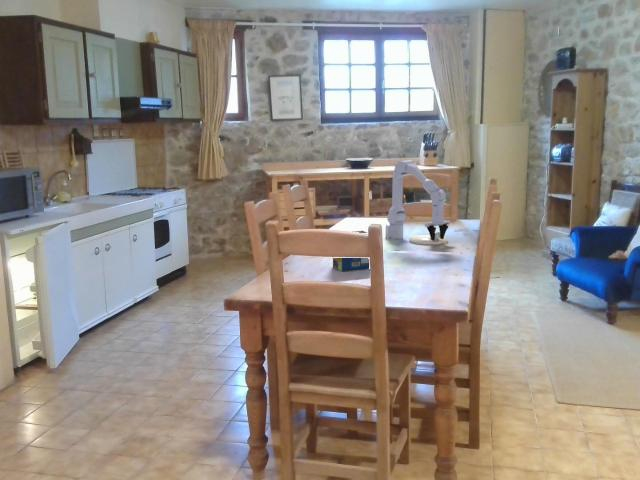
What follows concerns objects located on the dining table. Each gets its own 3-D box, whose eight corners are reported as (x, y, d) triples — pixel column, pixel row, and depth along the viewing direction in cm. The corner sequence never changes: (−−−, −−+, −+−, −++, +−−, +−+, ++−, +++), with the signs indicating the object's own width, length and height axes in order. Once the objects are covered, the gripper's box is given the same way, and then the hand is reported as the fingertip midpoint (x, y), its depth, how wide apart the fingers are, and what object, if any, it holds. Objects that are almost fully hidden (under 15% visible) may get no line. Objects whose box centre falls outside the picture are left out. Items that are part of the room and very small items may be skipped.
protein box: (332, 266, 273) (332, 233, 270) (363, 263, 278) (363, 230, 275) (341, 272, 263) (341, 236, 260) (373, 268, 268) (373, 234, 266)
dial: (402, 239, 328) (402, 228, 327) (435, 236, 334) (435, 225, 333) (420, 246, 309) (420, 234, 308) (454, 243, 316) (455, 231, 315)
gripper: (431, 215, 305) (430, 241, 308) (454, 213, 311) (453, 239, 314) (422, 213, 311) (422, 239, 314) (445, 211, 318) (444, 237, 320)
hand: (437, 239), depth 315 cm, fingers open, 5 cm apart
